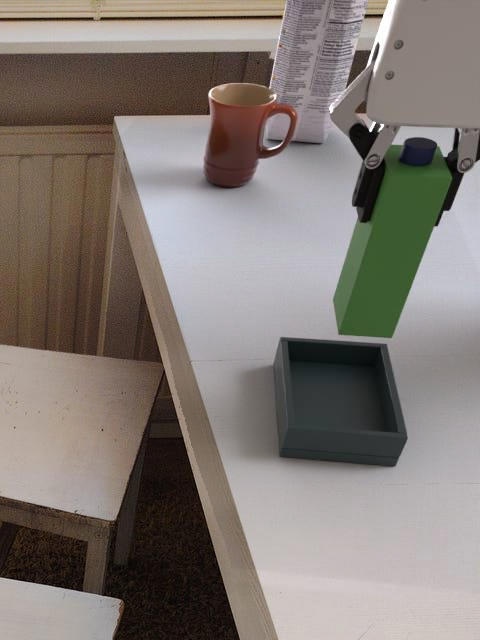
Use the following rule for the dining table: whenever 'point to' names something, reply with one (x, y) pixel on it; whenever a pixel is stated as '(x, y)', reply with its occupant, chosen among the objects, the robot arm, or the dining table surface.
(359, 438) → the dark grey tray
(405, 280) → the green drink carton
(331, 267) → the dining table surface
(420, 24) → the robot arm
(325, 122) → the juice carton
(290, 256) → the dining table surface
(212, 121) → the mug
